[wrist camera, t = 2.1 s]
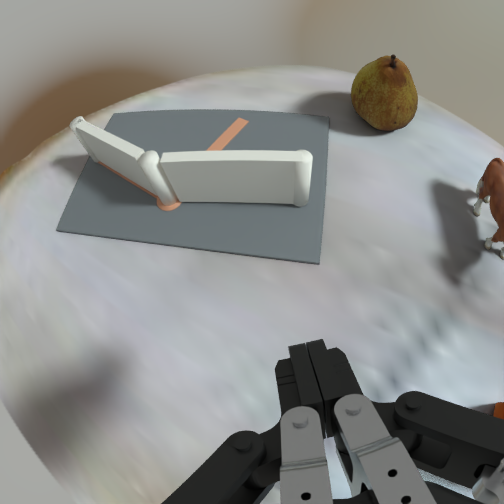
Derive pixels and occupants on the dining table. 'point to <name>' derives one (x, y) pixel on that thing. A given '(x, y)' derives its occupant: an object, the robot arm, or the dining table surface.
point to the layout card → (205, 213)
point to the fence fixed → (125, 159)
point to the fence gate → (240, 176)
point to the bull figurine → (493, 198)
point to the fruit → (385, 94)
